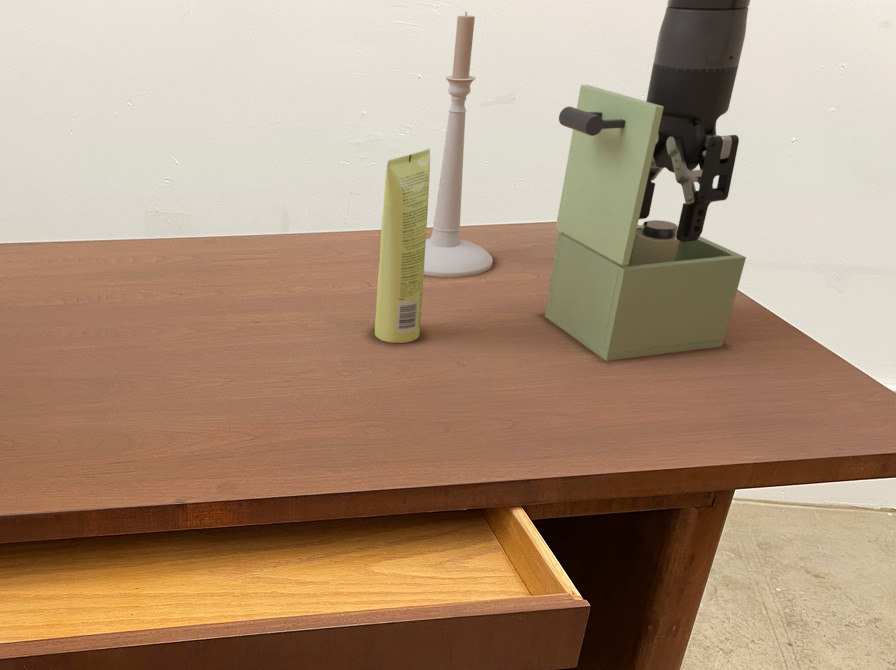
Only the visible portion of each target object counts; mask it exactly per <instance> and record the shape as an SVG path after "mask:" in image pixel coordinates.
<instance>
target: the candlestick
mask: <svg viewBox="0 0 896 670" xmlns="http://www.w3.org/2000/svg"><path fill="white" fill-rule="evenodd" d="M467 13H468V11H465V13H464V14H465V15H458V16H457V18H456V19H457V20H456V30H455V31H456V32H455V43H454V53H453V54H454V55H453V65H452V75H448V76H445V79H446V80H447V82H448V85H449V87H448V90H447V92H448V94H449V95H450V96H451V97H450V100H451V105H450V107H449V109H448V118H447V123H446V124H447V126H446V132H445V140H444V147H443V154H442V161H441V167H440V168H441V169H440V176H439V182H438V190H437V197H436V206H435V213H434V220H433V225H432V231H431V235H430V237H429V238H426V245H425V261H424V275H425V276H431V277H441V278H459V277H460V278H461V277H469V276H474V275H479V274H481V273H485V272H486V271H488V270H489V269H491V268H492V266H493V263H494V260H493V257H492V255H491V254H490V253H489V251H487V250H486V249H485V248H483V247H482V246H480V245H478V244H476V243H473V242H471V241H468V240H465V239H464V240H463V239H461V231H460V229H461V213H462V190H463V172H464V171H463V169H464V149H465V128H466V112H467V109H466V105H465V103H466V100H467V97H468V95H469V94H470V93H471V84H472V82H473V81H474V80H476V77H475V76H471V75H470V71H471V60H472V59H471V58H472V50H473V40H474V32H475V31H474V29H475V19H476V17H475V16H474V15H468V14H467Z"/></svg>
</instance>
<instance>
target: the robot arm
mask: <svg viewBox="0 0 896 670" xmlns="http://www.w3.org/2000/svg"><path fill="white" fill-rule="evenodd" d="M750 3H751V0H667V4H666V8H665V13H664V16H663V20H662V22H661V25H660V28H659V32H658V37H657V42H656V46H655V52H654V59H653V63H652V68H651V75H650V80H649V85H648V90H647V96H646V100H645V101H646V102H650V103H653V104H657V105H660V106H663V107H664V108H663V112H662V117H661V121H660V126H659V130H658V135H657V139H656V144H655V148H654V153H653V157H652V162H651V166H650V171H649V175H648V180H647V184H646V189H645V193H644V198H643V202H642V207H641V212H640V216H639V220H644V219H647V218H648V217H649V216H650V213H651V208H652V203H653V197H654V193H655V187H656V183H655V182H654V181H655V180H656V179H657V177H658V176H659V175H660V173H662V171H663V170H664V169H667V170H668V171H669V172H671V173H673V174H674V178H675V181H676V183H677V184H678V185H680V186H681V189H682V193H683V197H684V202H683V203H682V207H681V211H680V217H679V221H678V224H677V226H678V230H677V234H676V238H677V239H678V240H680V241H682V242H687V241H695V240H697V239H698V238H699V236H700V237H701V234H702V233H703V230H704V225H705V221H706V217H707V212H708V208H709V205H710V204H711V203H714V202H721V201H727V199H728V198H729V194H730V188H731V184H732V178H733V173H734V167H735V163H736V159H737V153H738V148H739V143H740V138H739V136H738V135H737V134H729V135H720V134H719V135H718V134H717V122H718V119H719V118H720V117H721V116H723V115H725V114H726V113H727V112H728V111H729V108H730V105H731V100H732V95H733V91H734V87H735V81H736V78H737V74H738V71H739V65H740V61H741V57H742V53H743V47H744V42H745V38H746V31H747V22H748V14H749V6H750ZM697 167H699V169H696V168H697ZM716 177H718V180H717V185H716V187H714V179H715V178H716ZM695 183H697V184H698V185H699V187H698V190H697V189H696V185H695Z"/></svg>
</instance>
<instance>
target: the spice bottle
mask: <svg viewBox="0 0 896 670" xmlns="http://www.w3.org/2000/svg"><path fill="white" fill-rule="evenodd" d="M642 225H643V226H642V229H641V230H638V231H637V232H636V236H635V241H634V246H633V250H632V255H631V260H630V265H629V266H635V265H645V264H655V263H664V262H674V261H676V256H677V252H678V247H679V243H680V240H678V239H677V238H676V234H677V229H678V224H676V223H674V222H671V221H668V220H667V221H666V220H655V219H654V220H647V221H644V222H643V223H642Z"/></svg>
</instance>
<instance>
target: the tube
mask: <svg viewBox="0 0 896 670" xmlns="http://www.w3.org/2000/svg"><path fill="white" fill-rule="evenodd" d="M386 162H387V163H386V171H385V181H384V194H383V206H382V217H381V229H380V230H381V231H380V243H379V245H380V246H379V257H378V259H379V260H378V274H377V288H376V289H377V290H376V303H375V321H374V337H376V338H377V339H378V340H380V341H382V342H386V343H391V344H407V343H411V342H414V341H416V340H417V339H418V338H419V337H420V333H421V319H422V308H423V307H422V306H423V292H424V291H423V290H424V261H425V245H426V239H427V230H428V229H427V227H428V213H429V211H428V210H429V193H430V178H431V177H430V176H431V149H430V147H429V148H426V149H423V150H420V151H416V152H413V153H410V154H406V155H402V156H398V157H393V158H391V159H387V161H386Z"/></svg>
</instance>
